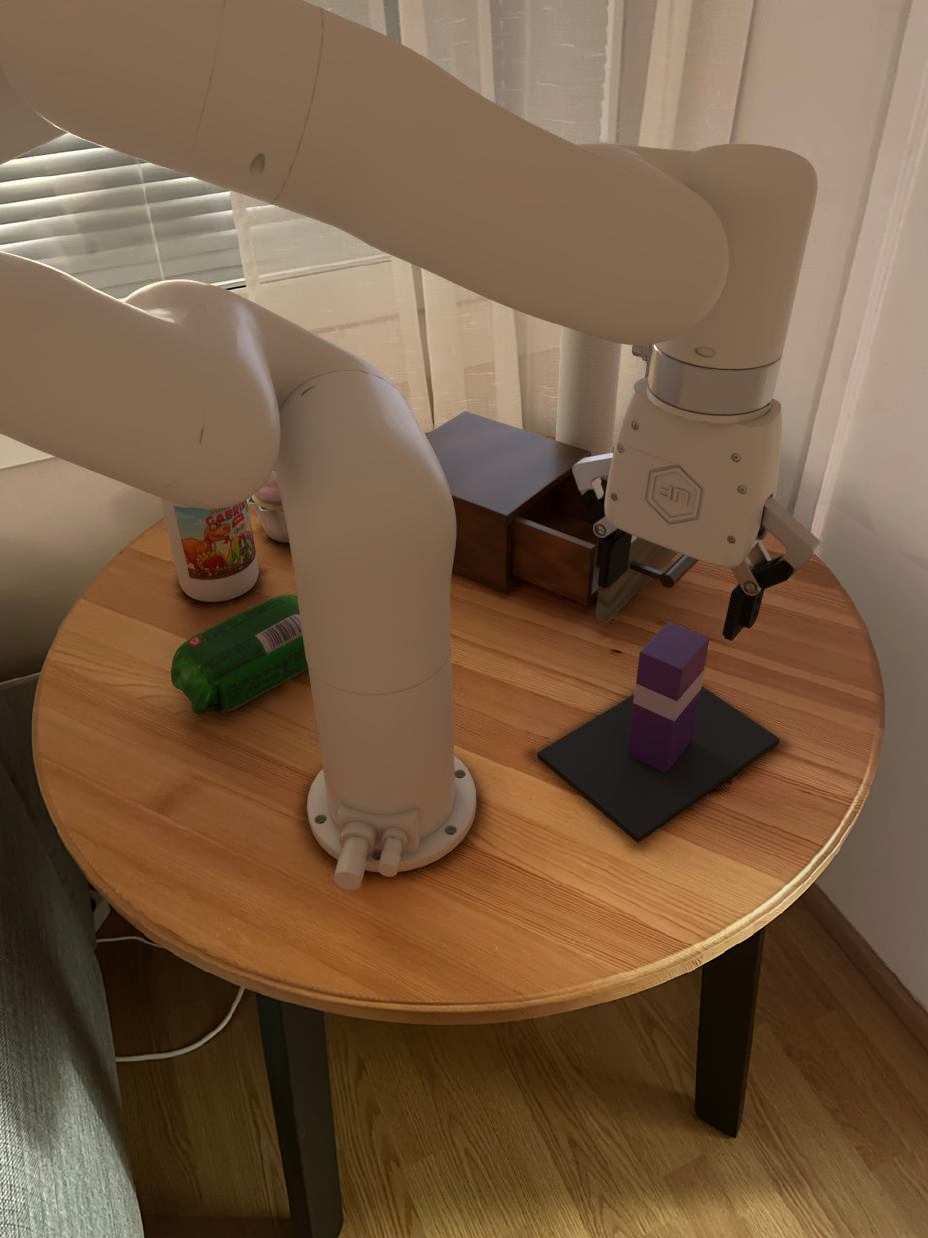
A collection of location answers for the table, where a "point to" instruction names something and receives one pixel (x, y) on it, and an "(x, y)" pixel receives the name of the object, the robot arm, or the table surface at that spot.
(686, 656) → the snack carton
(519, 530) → the drawer
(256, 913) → the table surface
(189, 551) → the milk bottle
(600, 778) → the mat
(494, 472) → the cabinet
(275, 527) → the cupcake
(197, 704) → the snack package
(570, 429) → the paper towel roll
